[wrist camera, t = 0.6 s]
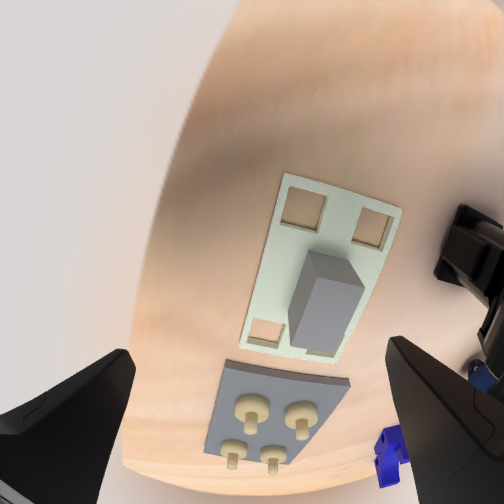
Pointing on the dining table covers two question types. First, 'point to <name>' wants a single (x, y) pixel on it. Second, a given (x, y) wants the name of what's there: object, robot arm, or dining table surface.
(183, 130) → the dining table surface
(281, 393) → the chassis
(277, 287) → the board
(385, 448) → the blue u-shaped cradle
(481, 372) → the flashlight
